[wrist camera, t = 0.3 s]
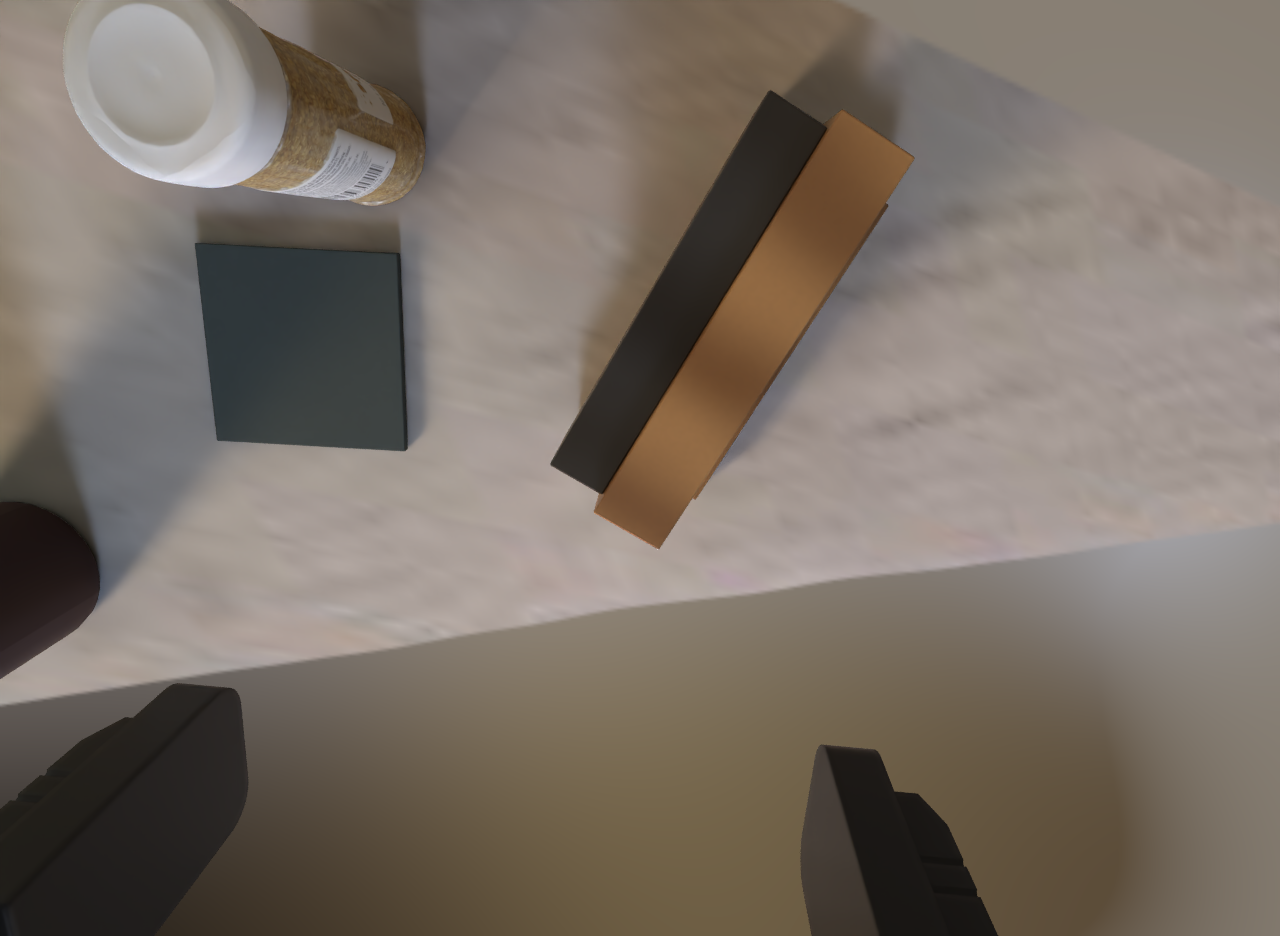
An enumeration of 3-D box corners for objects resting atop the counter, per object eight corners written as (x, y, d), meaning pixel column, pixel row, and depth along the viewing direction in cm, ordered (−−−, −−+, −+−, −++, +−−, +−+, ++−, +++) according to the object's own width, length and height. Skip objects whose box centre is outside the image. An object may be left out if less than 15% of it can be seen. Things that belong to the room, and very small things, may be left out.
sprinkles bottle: (412, 75, 29) (214, -56, 17) (439, 198, 31) (274, 164, 18) (300, 96, 30) (20, -17, 17) (331, 217, 31) (93, 197, 18)
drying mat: (200, 243, 32) (194, 242, 31) (400, 253, 31) (397, 253, 31) (221, 438, 34) (216, 440, 34) (408, 449, 34) (404, 451, 33)
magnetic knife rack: (748, 119, 29) (782, 67, 21) (880, 206, 30) (966, 191, 22) (573, 420, 33) (539, 482, 24) (694, 491, 34) (703, 575, 25)
